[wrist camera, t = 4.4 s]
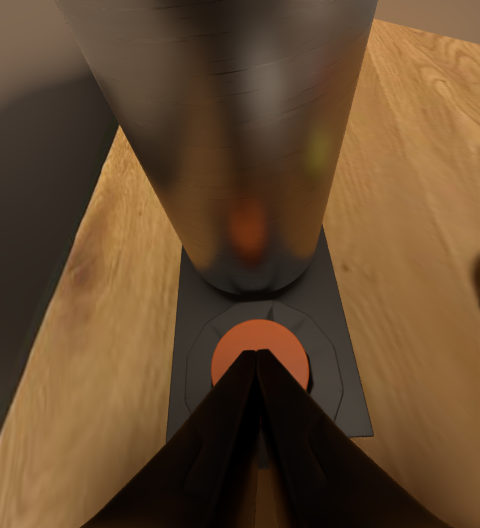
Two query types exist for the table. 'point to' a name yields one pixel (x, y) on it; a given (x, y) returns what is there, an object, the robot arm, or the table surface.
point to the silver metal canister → (232, 118)
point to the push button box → (280, 311)
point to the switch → (261, 337)
